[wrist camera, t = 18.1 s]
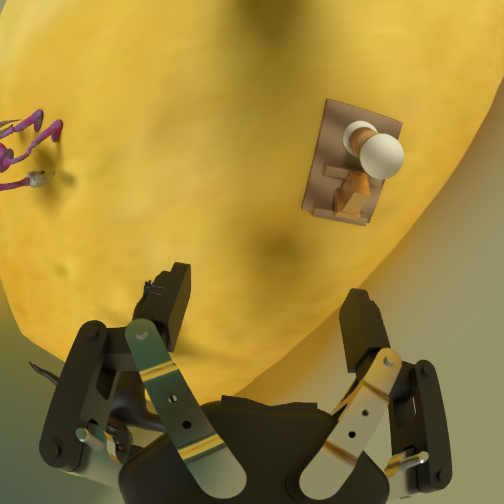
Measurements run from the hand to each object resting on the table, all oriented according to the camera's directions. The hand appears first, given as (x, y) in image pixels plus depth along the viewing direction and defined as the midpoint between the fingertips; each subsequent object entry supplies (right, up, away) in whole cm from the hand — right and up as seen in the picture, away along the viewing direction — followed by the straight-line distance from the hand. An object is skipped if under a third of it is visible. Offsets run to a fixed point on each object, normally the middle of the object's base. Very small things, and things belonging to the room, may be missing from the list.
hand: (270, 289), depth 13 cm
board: (+14, +15, +25) cm, 33 cm away
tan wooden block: (+13, +9, +26) cm, 31 cm away
